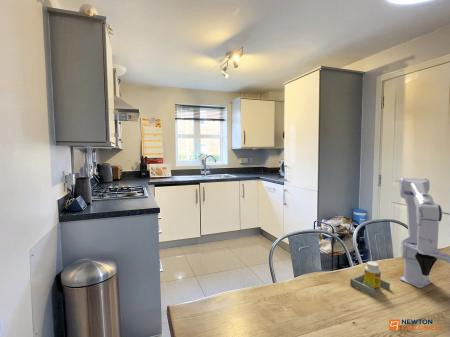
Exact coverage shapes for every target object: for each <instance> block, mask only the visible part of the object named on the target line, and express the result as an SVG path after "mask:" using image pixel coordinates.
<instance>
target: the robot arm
mask: <svg viewBox="0 0 450 337" xmlns="http://www.w3.org/2000/svg"><path fill="white" fill-rule="evenodd" d="M430 187H431V186H430V180H429V179H428V178H427V177H425V178H417V177H415V178H414V177H413V178H412V177H401V178H400V180H399V195H400V198H402V199H403V200H404V201H405V204H406V217H407V219H406V220H407V233H408V234H407V237H404V238H402V239H401V240H400V257H401V258H402V259H404V265H403V266H404V269H403V276H401V277H399V278H398V279H399V280H400V281H402V282H405V283H407V284H409V285H412V286H415V287H417V288H419V289H422V288H424V287H426V286H427V285H429V284H431V283H432V282H433V280H431V279H430V273H431V271H432V268H433V266H434V264H435V263H436V262H437V261H438V260H441V261H444V262H447V263H448V264H450V255H449V254H446V253H444V252H443V251H439V250H438V244H439V241H438V240H439V226H440V225H439V224H440V223H441V221H442V218H443V210H442V207H441V204H437V203H436V202H435V201H434V199H433V197H432V195H431V194H430V193H429V192H430Z"/></svg>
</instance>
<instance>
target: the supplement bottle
mask: <svg viewBox="0 0 450 337" xmlns="http://www.w3.org/2000/svg"><path fill="white" fill-rule="evenodd" d="M364 273H365V274H364ZM364 273H363V274H364V281H363V284H364V285H366V286H368V287H371V288H373V289H375V290H376V291H375V292H378V291H380V290H381V286H380V279H382V278H381V275H382V274H381V273H382V271H381V268H380V267H379V263H377V262H375V261H367V262H366V266H364Z"/></svg>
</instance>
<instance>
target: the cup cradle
mask: <svg viewBox="0 0 450 337" xmlns="http://www.w3.org/2000/svg"><path fill="white" fill-rule="evenodd" d="M364 274H365V272H364V273H362V274H359V275H356V276H355V277H352V278H350V279H349V280H350V283H349V284H350V286H352V287H354V288H356V289H358V290H360V291H362V292H363V293H366V294H367V295H369V296H372V297H373V298H375V297H376V292H377V291H376V290H375V289H373V288H371V287H368V286H366V285H364V283H362V282H364ZM380 287H382V288H384V289H387V291H388V290H390V289H391V283H390V282H389V281H386V280H384V279H382V278H380Z"/></svg>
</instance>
